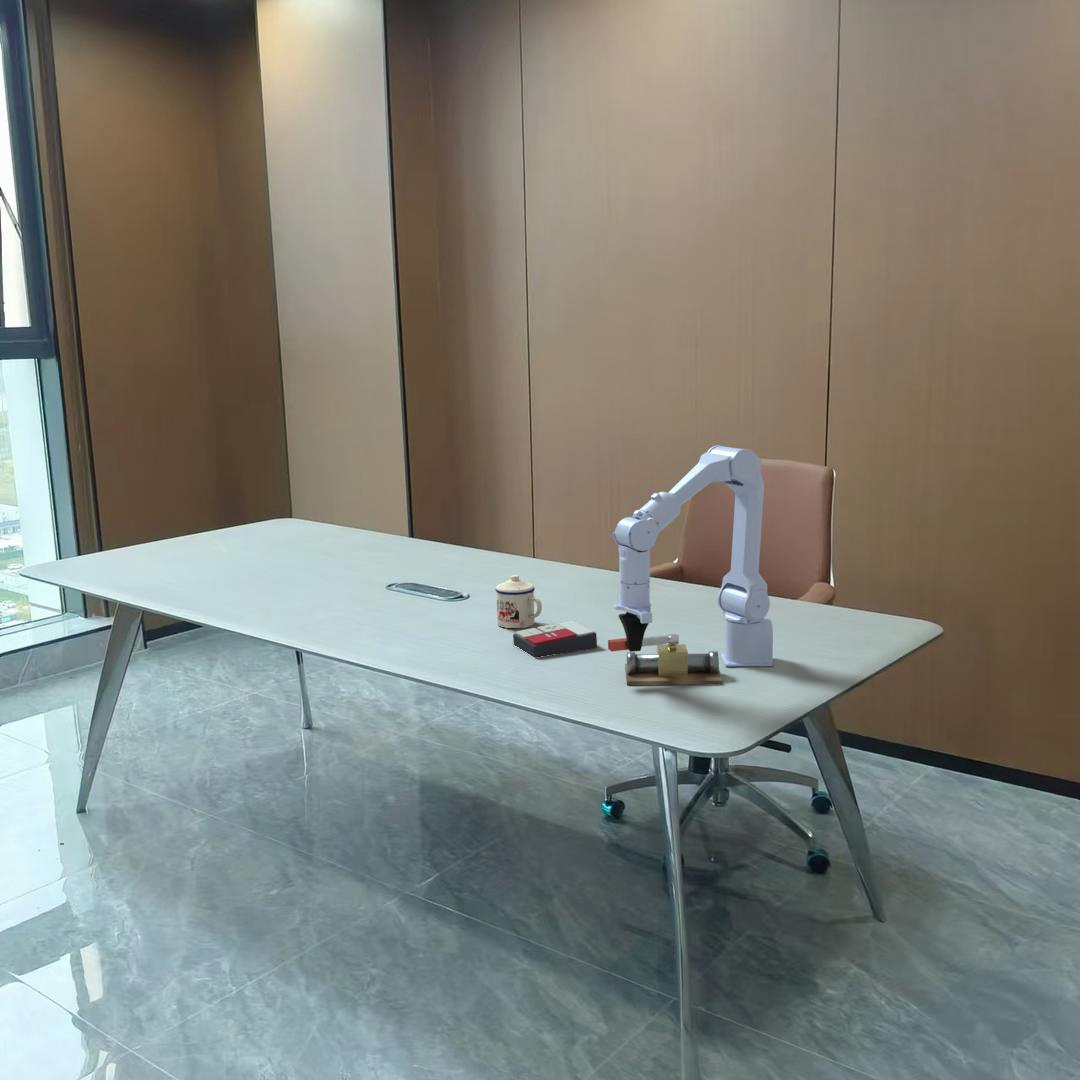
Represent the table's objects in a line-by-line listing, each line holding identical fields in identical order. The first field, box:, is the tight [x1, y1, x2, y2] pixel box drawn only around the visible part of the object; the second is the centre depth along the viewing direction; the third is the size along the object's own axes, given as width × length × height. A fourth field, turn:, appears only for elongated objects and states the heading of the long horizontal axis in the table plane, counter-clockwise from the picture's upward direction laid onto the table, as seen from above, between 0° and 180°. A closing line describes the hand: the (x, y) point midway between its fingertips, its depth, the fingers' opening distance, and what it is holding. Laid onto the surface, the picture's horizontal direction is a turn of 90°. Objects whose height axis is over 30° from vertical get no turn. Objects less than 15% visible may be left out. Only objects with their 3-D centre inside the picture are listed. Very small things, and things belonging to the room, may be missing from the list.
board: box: [624, 663, 723, 686], centre depth 209 cm, size 18×11×1 cm, turn 88°
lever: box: [607, 633, 680, 652], centre depth 206 cm, size 3×14×2 cm, turn 107°
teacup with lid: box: [495, 574, 543, 629], centre depth 247 cm, size 12×9×12 cm
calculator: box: [512, 620, 598, 658], centre depth 230 cm, size 11×4×15 cm
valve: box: [626, 643, 720, 676], centre depth 209 cm, size 18×5×6 cm, turn 87°
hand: (634, 650), depth 204 cm, fingers closed
